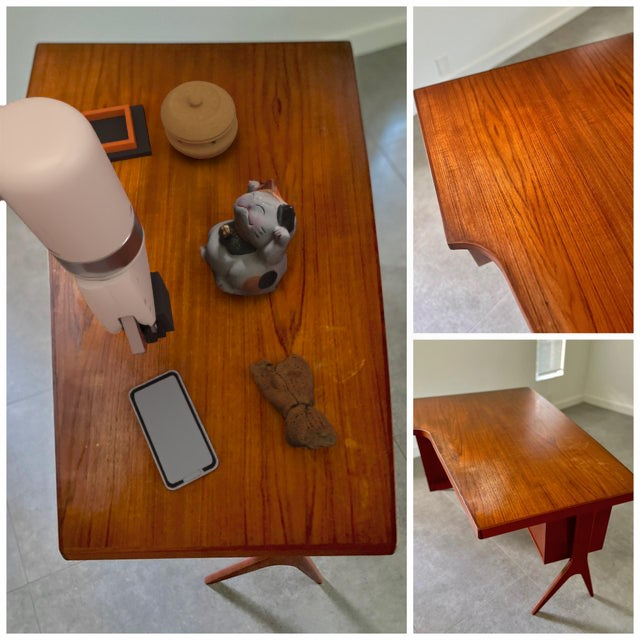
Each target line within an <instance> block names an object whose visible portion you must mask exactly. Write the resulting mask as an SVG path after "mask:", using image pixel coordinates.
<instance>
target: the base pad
mask: <svg viewBox="0 0 640 640" xmlns="http://www.w3.org/2000/svg"><path fill="white" fill-rule="evenodd" d="M79 112H80V113H81V114H82V115H83V116H84V117H85V118H86V119H87V120H88V121H89V123H90V124H91V126H92V128H93V129H94V131H95V133H96V135H97V137H98V139H99V141H100V143H101V145H102V147H103V149H104V150H105V152H106V154H107V156H108V158H109V160H110V162H111V163H113V162H119V161H124V160H130V159H136V158H143V157H149V156H152V155H153V154H152V153H153V152H152V148H151V142H150V137H149V131H148V124H147V119H146V113H145V108H144V106H143V104H136V105H131V106H130V105H129V104H122V105H117V106H116V105H115V106H110V107H103V108H98V109H92V110H85V111H79Z"/></svg>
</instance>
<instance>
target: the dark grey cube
mask: <svg viewBox="0 0 640 640" xmlns="http://www.w3.org/2000/svg"><path fill="white" fill-rule="evenodd" d="M150 277H151V284H152V291H153V299H154V307H155V317H156V320H159V322H160V323H161V325H162V326H163V328H164V329H165V331H166V333H170V332H175V331H176V329H175V322H174V316H173V315H174V314H173V309H172V303H171V297H170V292H169V290H168V288H167V286H166V283H165V282H164V280H163V278H162V276H161V273H160V272H159V271H150ZM121 323H122V322H121ZM122 331H124V332H125V330H124V327H123V324H122Z"/></svg>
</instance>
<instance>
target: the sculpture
mask: <svg viewBox="0 0 640 640" xmlns="http://www.w3.org/2000/svg"><path fill="white" fill-rule="evenodd" d="M248 370H249V373H250V375H251V376H252V377H253V378H254V381H255V383H256V387H258V389H259V390H260V391H261V392H262V393H263V396H264V397H265V399H266V400H267V401H268V403H269V404H270V405H271V406H272V407H273V408H274V409H275V410H277V411H278V412H279V413H280V414H281V415H282V417H283V419H284V420H285V422H284V423H285V436H284V439H285V442H286V443H287V444H288V445H289V447H291V448H295V449H296V448H297V449H302V448H305V449H306V450H309V451H313V450H317V449H320V448H330V447H333V446H335V445H336V443H337V441H338V436H337V433H336V431H335V430H334V427H333V425H332V424H331V423H330V422H329V420H328V418H327V417H326V415H324V413H323V412H321V411H320V410H318V409H317V408H315V407H314V405H315V395H314V374H313V372H312V370H311V367H310V365H309V364H308V362H307V361H306V359H305V358H304V357H302V356H301V355H298V354H297V353H292V354H291V355H289V356H288V357H286V358H285V359H283V360H280V361H278V363H275V366H274V364H272V363H271V362H270V361H269V360H267V359H265V360H261V361H260V362H259V363H256V364H253V363H251V364H249V366H248Z"/></svg>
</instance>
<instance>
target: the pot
mask: <svg viewBox="0 0 640 640" xmlns="http://www.w3.org/2000/svg"><path fill="white" fill-rule="evenodd" d="M160 119H161V123H162V126H163V129H164V134H165V137H166V139H167V141H168V143H170V145H171V146H172V147H173V148H174V149H175V150H177V151H178V152H179V153H181V154H182V155H184V156H187V157H190V158H192V159H198V160H208V159H211V158H215V157H218V156H219V155H221V154H223V153H224V152H226V151H227V150H228V149H229V147H230V146H232V145H233V142H234V140H235V138H236V137H237V133H238V129H239V121H238V117H237V110H236V105H235V103H234V99H233V98H232V97H231V95H230V94H229V93H228V92H227V91H226V90H225V89H224V88H222V87H221V86H219V85H217V84H215V83H212V82H210V81H204V80H191V81H187V82H183V83H180V84H179V85H177V86H175V87H174V88H173V89H171V91H169V92H168V93H167V95H166V96H165V97H164V100H163V101H162V103H161V107H160Z"/></svg>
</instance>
